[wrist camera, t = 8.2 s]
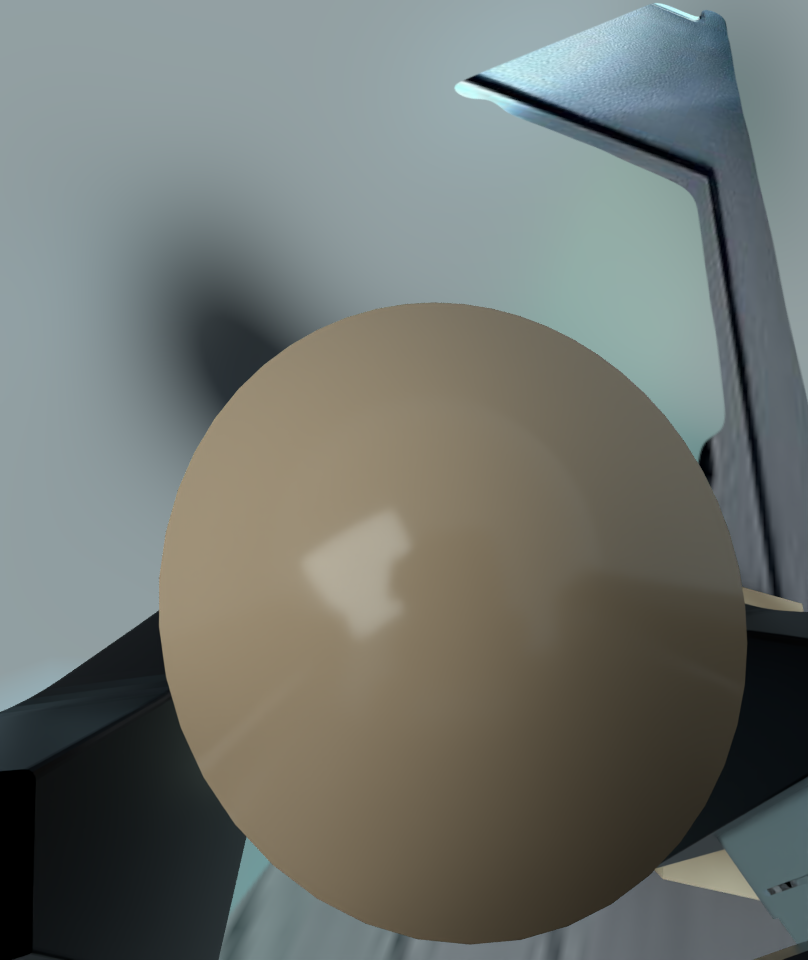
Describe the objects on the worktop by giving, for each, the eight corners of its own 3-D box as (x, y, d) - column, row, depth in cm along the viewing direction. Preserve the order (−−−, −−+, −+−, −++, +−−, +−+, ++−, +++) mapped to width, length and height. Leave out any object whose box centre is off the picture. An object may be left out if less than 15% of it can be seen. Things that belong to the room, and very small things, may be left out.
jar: (467, 583, 15) (845, 632, 3) (363, 654, 13) (368, 1231, 2) (407, 483, 16) (529, 253, 4) (304, 539, 14) (64, 416, 3)
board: (811, 890, 17) (852, 920, 16) (637, 852, 17) (663, 879, 15) (773, 601, 22) (802, 603, 21) (637, 563, 21) (657, 563, 20)
